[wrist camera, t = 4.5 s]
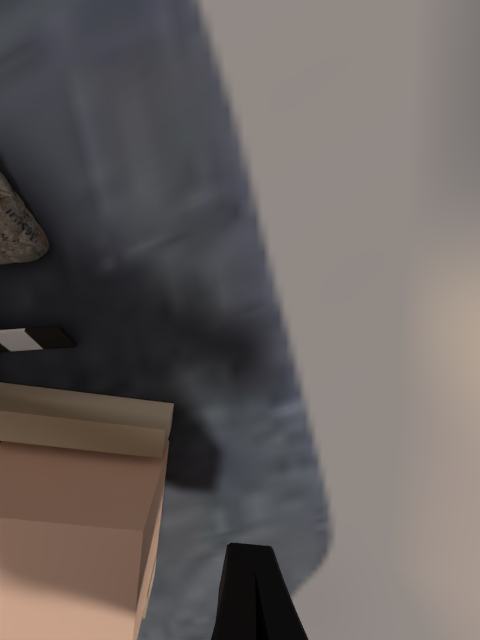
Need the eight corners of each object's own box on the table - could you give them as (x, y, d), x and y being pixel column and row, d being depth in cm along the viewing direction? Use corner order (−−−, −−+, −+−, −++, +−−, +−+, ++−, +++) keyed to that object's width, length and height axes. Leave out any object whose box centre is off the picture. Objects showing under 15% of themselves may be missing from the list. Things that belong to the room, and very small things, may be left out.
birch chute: (154, 574, 13) (145, 618, 11) (-124, 551, 12) (-172, 594, 11) (173, 403, 11) (165, 429, 9) (-159, 363, 10) (-223, 385, 9)
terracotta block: (156, 550, 12) (129, 669, 9) (23, 538, 12) (-56, 657, 9) (169, 440, 11) (143, 531, 8) (20, 423, 11) (-75, 510, 7)
